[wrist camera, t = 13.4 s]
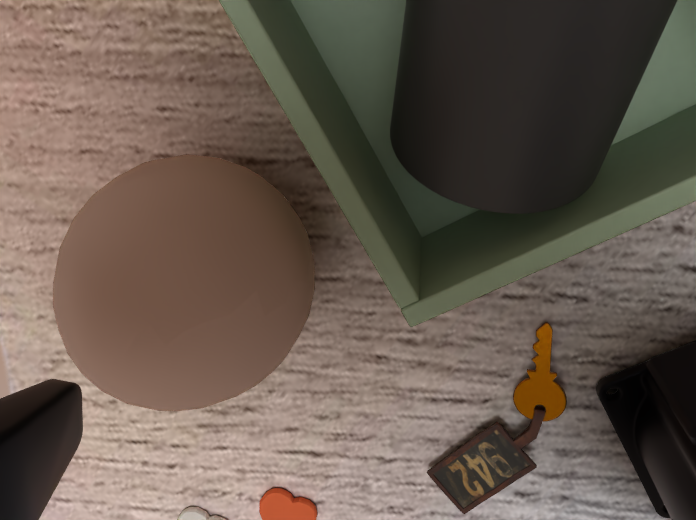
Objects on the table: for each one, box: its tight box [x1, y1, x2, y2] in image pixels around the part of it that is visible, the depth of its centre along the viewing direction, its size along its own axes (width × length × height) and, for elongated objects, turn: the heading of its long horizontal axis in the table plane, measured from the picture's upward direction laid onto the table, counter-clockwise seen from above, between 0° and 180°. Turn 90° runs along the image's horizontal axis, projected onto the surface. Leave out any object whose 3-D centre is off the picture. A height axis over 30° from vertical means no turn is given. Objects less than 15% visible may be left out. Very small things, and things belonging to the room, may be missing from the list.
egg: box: [53, 154, 315, 411], centre depth 18 cm, size 7×7×8 cm
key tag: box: [427, 322, 567, 514], centre depth 23 cm, size 8×3×1 cm, turn 151°
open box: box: [219, 0, 696, 327], centre depth 16 cm, size 11×11×6 cm
